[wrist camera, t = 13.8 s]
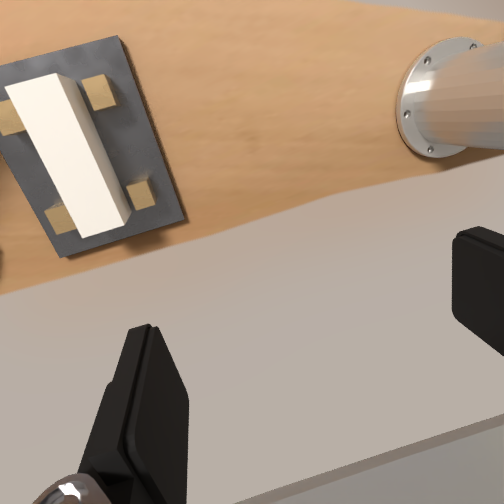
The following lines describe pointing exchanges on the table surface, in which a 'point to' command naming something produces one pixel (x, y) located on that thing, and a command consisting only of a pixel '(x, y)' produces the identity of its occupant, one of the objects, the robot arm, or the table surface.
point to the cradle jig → (112, 137)
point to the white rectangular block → (71, 151)
